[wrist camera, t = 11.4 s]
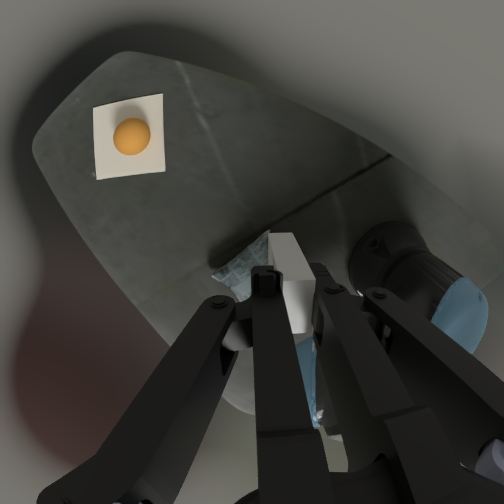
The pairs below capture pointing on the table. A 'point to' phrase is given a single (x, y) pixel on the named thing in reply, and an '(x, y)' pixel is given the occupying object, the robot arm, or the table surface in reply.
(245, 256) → the packaged food
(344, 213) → the table surface
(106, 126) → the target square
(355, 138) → the table surface
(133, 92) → the table surface
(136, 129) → the ball
